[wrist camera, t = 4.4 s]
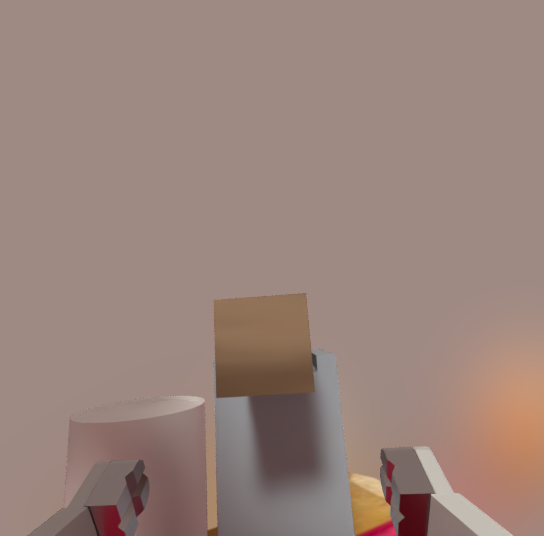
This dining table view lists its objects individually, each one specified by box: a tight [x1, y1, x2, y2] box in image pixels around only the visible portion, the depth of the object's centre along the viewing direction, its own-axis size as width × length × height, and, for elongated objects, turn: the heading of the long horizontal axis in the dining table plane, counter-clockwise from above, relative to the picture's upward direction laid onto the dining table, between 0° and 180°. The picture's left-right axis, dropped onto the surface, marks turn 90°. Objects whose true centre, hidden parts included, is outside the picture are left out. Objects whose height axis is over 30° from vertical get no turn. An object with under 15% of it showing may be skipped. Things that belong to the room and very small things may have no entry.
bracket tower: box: [214, 349, 355, 536], centre depth 24 cm, size 12×8×25 cm, turn 177°
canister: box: [64, 396, 207, 536], centre depth 33 cm, size 14×14×20 cm
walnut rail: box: [214, 293, 315, 398], centre depth 23 cm, size 19×4×4 cm, turn 177°
